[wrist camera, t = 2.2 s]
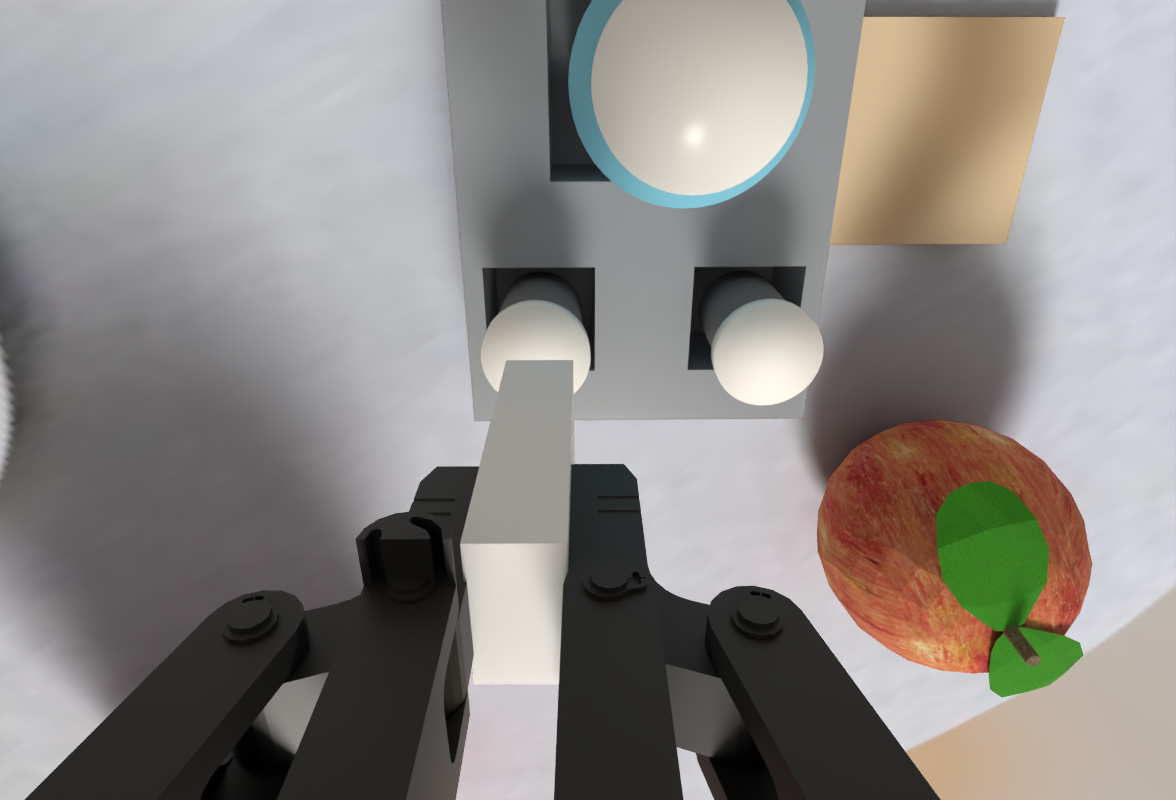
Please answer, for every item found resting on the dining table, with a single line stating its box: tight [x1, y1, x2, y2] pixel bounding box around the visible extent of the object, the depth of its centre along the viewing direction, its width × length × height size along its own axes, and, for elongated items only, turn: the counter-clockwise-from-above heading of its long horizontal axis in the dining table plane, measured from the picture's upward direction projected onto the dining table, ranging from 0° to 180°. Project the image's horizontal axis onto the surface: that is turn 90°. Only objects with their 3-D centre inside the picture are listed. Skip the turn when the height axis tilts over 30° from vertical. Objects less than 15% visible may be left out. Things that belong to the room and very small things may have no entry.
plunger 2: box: [699, 271, 824, 405], centre depth 21 cm, size 3×3×4 cm
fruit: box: [817, 420, 1092, 697], centre depth 25 cm, size 9×10×10 cm
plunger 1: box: [481, 272, 591, 393], centre depth 21 cm, size 3×3×4 cm
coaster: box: [829, 17, 1065, 245], centre depth 23 cm, size 7×7×1 cm
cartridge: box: [568, 0, 815, 208], centre depth 17 cm, size 4×4×12 cm
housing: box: [441, 0, 866, 421], centre depth 22 cm, size 11×15×4 cm
